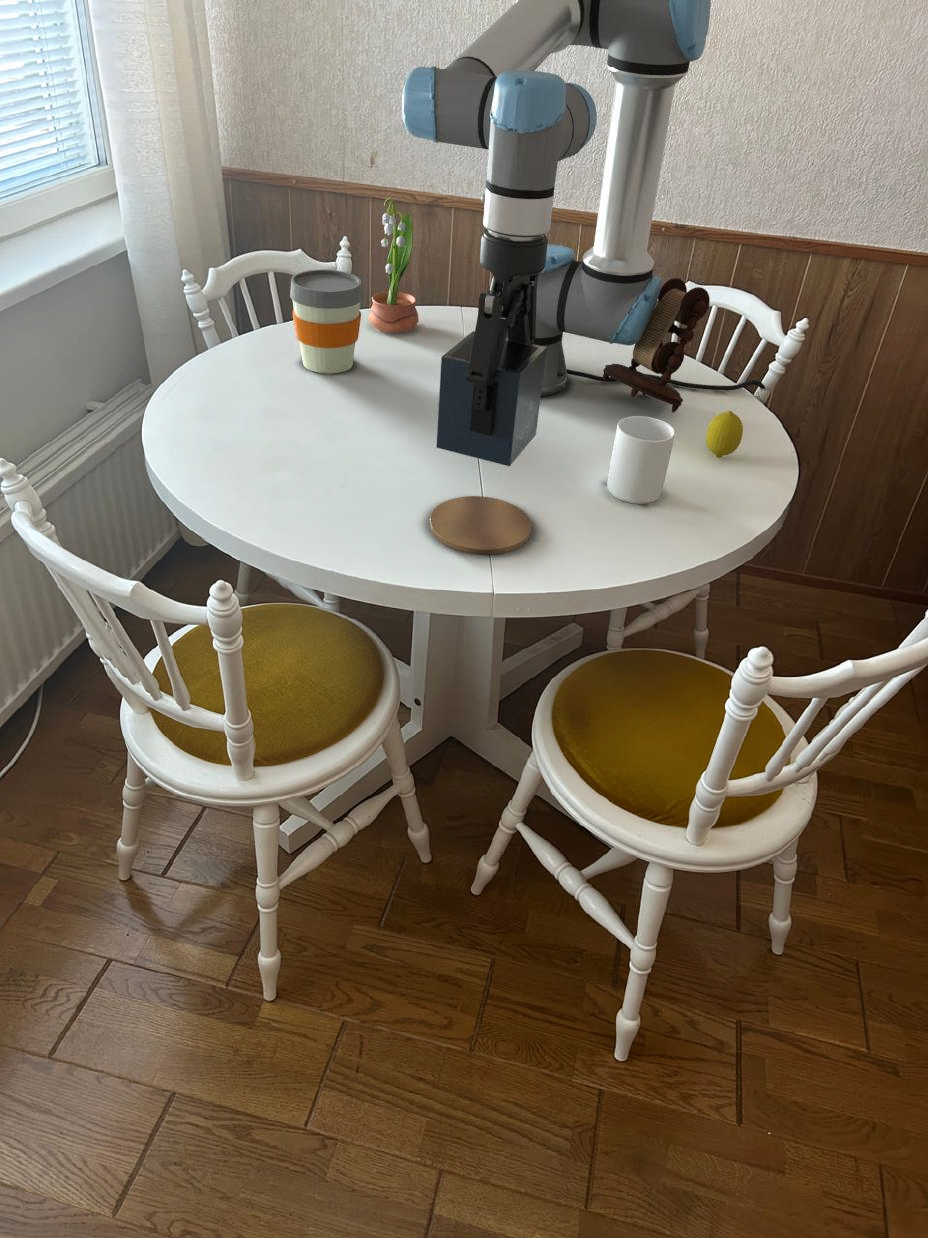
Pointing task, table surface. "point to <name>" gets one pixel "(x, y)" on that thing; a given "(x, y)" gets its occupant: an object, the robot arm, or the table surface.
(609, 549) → the table surface
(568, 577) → the table surface
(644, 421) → the mug
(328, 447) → the table surface
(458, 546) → the cork trivet
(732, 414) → the lemon
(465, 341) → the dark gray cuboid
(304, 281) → the reusable coffee cup
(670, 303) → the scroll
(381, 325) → the potted flower
